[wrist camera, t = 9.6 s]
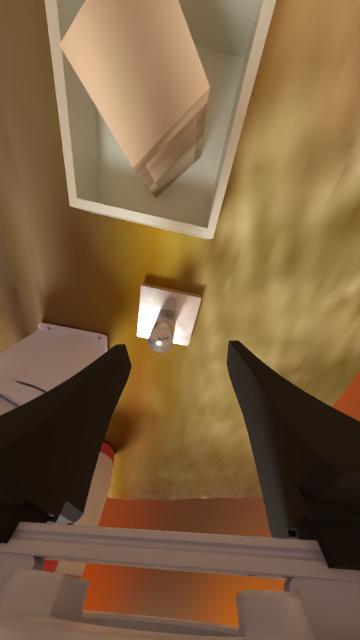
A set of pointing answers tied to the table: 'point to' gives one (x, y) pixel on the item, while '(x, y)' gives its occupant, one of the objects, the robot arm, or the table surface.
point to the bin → (219, 132)
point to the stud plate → (169, 302)
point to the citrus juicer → (88, 509)
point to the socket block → (143, 82)
